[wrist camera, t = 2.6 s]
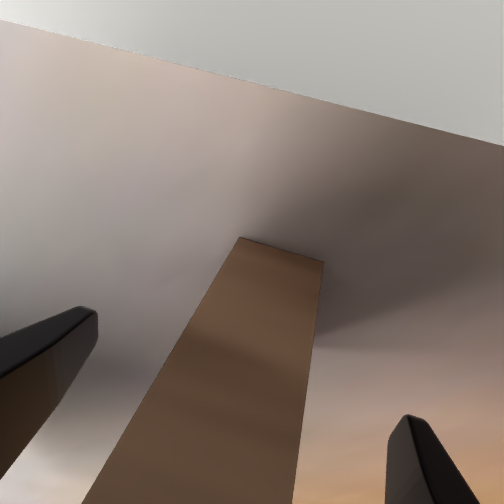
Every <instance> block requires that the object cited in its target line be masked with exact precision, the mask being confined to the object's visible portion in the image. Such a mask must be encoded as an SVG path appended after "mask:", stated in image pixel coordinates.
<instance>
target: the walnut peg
mask: <svg viewBox="0 0 504 504" xmlns="http://www.w3.org/2000/svg"><path fill="white" fill-rule="evenodd" d="M323 264H324V262H321V261H317V260H314V259H310V258H307V257H304V256H300V255H297V254H294V253H290V252H287V251H284V250H280V249H277V248H273V247H270V246H267V245H263V244H260V243H257V242H253V241H250V240H247V239H243V238H240V237H239V239H238V240H237V242H236V244H235V245H234V247H233V249H232V250H231V252H230V254H229V255H228V257H227V259H226V261H225V262H224V264H223V266H222V267H221V269H220V271H219V272H218V274H217V276H216V277H215V279H214V281H213V282H212V284H211V286H210V288H209V289H208V291H207V293H206V294H205V296H204V298H203V299H202V301H201V303H200V304H199V306H198V308H197V309H196V311H195V313H194V315H193V316H192V318H191V320H190V321H189V323H188V325H187V326H186V328H185V330H184V331H183V333H182V335H181V336H180V338H179V340H178V342H177V343H176V345H175V347H174V348H173V350H172V352H171V353H170V355H169V357H168V358H167V360H166V362H165V363H164V365H163V367H162V369H161V370H160V372H159V374H158V375H157V377H156V379H155V380H154V382H153V384H152V385H151V387H150V389H149V391H148V392H147V394H146V396H145V397H144V399H143V401H142V402H141V404H140V406H139V407H138V409H137V411H136V412H135V414H134V416H133V418H132V419H131V421H130V423H129V424H128V426H127V428H126V429H125V431H124V433H123V434H122V436H121V438H120V439H119V441H118V443H117V445H116V446H115V448H114V450H113V451H112V453H111V455H110V456H109V458H108V460H107V461H106V463H105V465H104V466H103V468H102V470H101V472H100V473H99V475H98V477H97V478H96V480H95V482H94V483H93V485H92V487H91V488H90V490H89V492H88V493H87V495H86V497H85V499H84V500H83V502H82V504H292V498H293V490H294V483H295V475H296V468H297V460H298V453H299V445H300V438H301V430H302V422H303V415H304V407H305V400H306V392H307V385H308V377H309V370H310V362H311V355H312V347H313V339H314V332H315V324H316V317H317V309H318V302H319V294H320V287H321V279H322V271H323Z"/></svg>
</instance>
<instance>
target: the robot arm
mask: <svg viewBox="0 0 504 504" xmlns="http://www.w3.org/2000/svg"><path fill="white" fill-rule="evenodd" d="M97 340H98V314H97V312H96V311H95V310H92V309H89V308H86V307H83V306H78V307H75V308H72V309H70V310H67V311H65V312H62V313H60V314H57V315H55V316H52V317H50V318H48V319H45V320H43V321H40V322H38V323H35V324H33V325H30V326H28V327H25V328H23V329H20V330H18V331H15V332H13V333H11V334H8V335H6V336H3V337H1V338H0V480H1V478H2V477H3V476H4V474H5V473H6V472H7V471H8V469H9V468H10V467H11V465H12V464H13V463H14V462H15V460H16V459H17V458H18V456H19V455H20V454H21V452H22V451H23V450H24V449H25V447H26V446H27V445H28V443H29V442H30V441H31V439H32V438H33V437H34V436H35V434H36V433H37V432H38V430H39V429H40V428H41V426H42V425H43V424H44V423H45V421H46V420H47V419H48V417H49V416H50V415H51V413H52V412H53V411H54V409H55V408H56V407H57V405H58V404H59V403H60V401H61V399H62V398H63V396H64V395H65V393H66V392H67V390H68V388H69V387H70V385H71V384H72V382H73V380H74V379H75V377H76V376H77V374H78V372H79V371H80V369H81V368H82V366H83V364H84V363H85V361H86V359H87V358H88V356H89V355H90V353H91V351H92V350H93V348H94V346H95V345H96V342H97ZM385 504H480V503H479V501H478V500H477V498H476V496H475V495H474V493H473V492H472V490H471V489H470V487H469V486H468V484H467V483H466V481H465V479H464V478H463V476H462V475H461V473H460V472H459V470H458V469H457V467H456V466H455V464H454V462H453V461H452V459H451V458H450V456H449V455H448V453H447V452H446V450H445V449H444V447H443V445H442V444H441V442H440V441H439V439H438V438H437V436H436V435H435V433H434V432H433V430H432V428H431V427H430V425H429V424H428V423H427V422H426V421H425V420H424V419H421V418H418V417H415V416H412V415H409V414H406V415H404V416H403V417H402V419H401V420H400V422H399V423H398V424H397V426H396V427H395V429H394V430H393V432H392V433H391V435H390V437H389V440H388V447H387V466H386V486H385Z"/></svg>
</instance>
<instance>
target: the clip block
mask: <svg viewBox="0 0 504 504" xmlns="http://www.w3.org/2000/svg"><path fill="white" fill-rule="evenodd" d="M0 19H1V20H5V21H9V22H13V23H17V24H21V25H25V26H29V27H33V28H37V29H41V30H45V31H49V32H53V33H57V34H61V35H65V36H69V37H73V38H77V39H81V40H85V41H88V42H92V43H96V44H100V45H104V46H108V47H112V48H116V49H120V50H124V51H128V52H132V53H136V54H140V55H144V56H148V57H152V58H156V59H160V60H164V61H168V62H172V63H176V64H180V65H184V66H188V67H192V68H196V69H200V70H204V71H208V72H211V73H215V74H219V75H223V76H227V77H231V78H235V79H239V80H243V81H247V82H251V83H255V84H259V85H263V86H267V87H271V88H275V89H279V90H283V91H287V92H291V93H295V94H299V95H303V96H307V97H311V98H315V99H319V100H323V101H327V102H330V103H334V104H338V105H342V106H346V107H350V108H354V109H358V110H362V111H366V112H370V113H374V114H378V115H382V116H386V117H390V118H394V119H398V120H402V121H406V122H410V123H414V124H418V125H422V126H426V127H430V128H434V129H438V130H442V131H446V132H450V133H453V134H457V135H461V136H465V137H469V138H473V139H477V140H481V141H485V142H489V143H493V144H497V145H501V146H504V0H0Z"/></svg>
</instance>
